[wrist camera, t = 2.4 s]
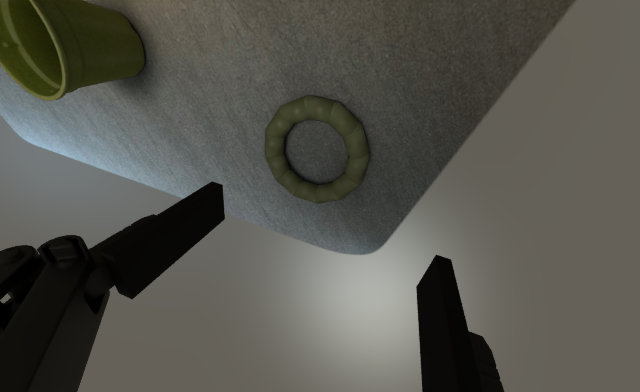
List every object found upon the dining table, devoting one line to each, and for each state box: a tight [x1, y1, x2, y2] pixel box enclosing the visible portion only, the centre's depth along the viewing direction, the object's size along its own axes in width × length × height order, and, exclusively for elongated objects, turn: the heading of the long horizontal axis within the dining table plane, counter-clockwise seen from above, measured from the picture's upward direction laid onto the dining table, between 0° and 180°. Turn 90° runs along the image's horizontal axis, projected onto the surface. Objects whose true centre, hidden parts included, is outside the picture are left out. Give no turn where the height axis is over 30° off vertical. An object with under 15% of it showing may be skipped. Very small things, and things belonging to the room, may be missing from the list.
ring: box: [265, 95, 370, 203], centre depth 24 cm, size 11×11×2 cm
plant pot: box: [0, 0, 144, 101], centre depth 22 cm, size 9×9×9 cm
